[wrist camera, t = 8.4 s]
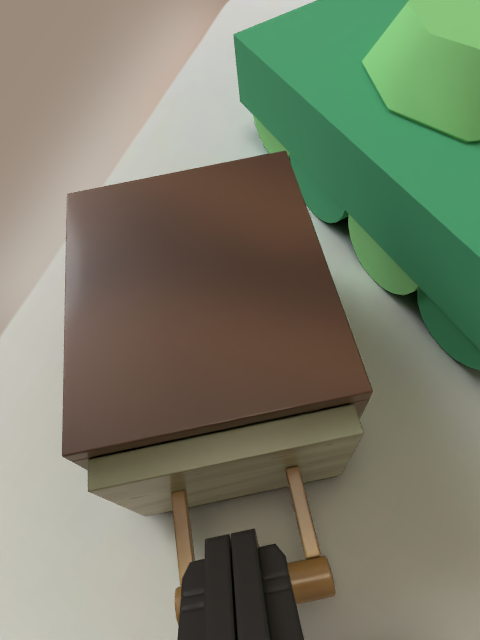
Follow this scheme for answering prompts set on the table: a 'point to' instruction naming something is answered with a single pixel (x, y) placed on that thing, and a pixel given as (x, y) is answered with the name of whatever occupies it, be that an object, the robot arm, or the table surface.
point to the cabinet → (198, 309)
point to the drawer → (236, 479)
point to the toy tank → (383, 140)
